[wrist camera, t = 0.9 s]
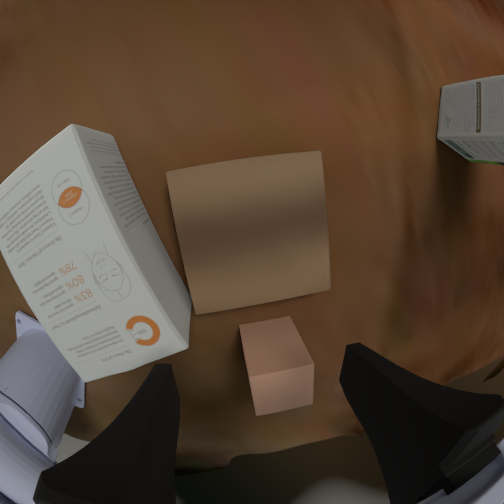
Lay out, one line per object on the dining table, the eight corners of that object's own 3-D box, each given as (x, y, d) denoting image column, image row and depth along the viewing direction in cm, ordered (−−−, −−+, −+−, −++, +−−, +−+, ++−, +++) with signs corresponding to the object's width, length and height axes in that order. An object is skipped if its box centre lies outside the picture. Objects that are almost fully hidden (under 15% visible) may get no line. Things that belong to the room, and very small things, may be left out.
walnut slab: (315, 273, 21) (330, 289, 18) (197, 294, 20) (196, 314, 17) (305, 152, 18) (320, 150, 15) (173, 171, 17) (165, 172, 15)
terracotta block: (291, 354, 23) (312, 403, 17) (245, 363, 22) (256, 416, 16) (289, 315, 21) (314, 363, 16) (238, 324, 21) (248, 376, 15)
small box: (33, 190, 16) (109, 334, 20) (-21, 202, 9) (84, 386, 14) (115, 133, 16) (194, 299, 20) (73, 119, 10) (190, 352, 14)
